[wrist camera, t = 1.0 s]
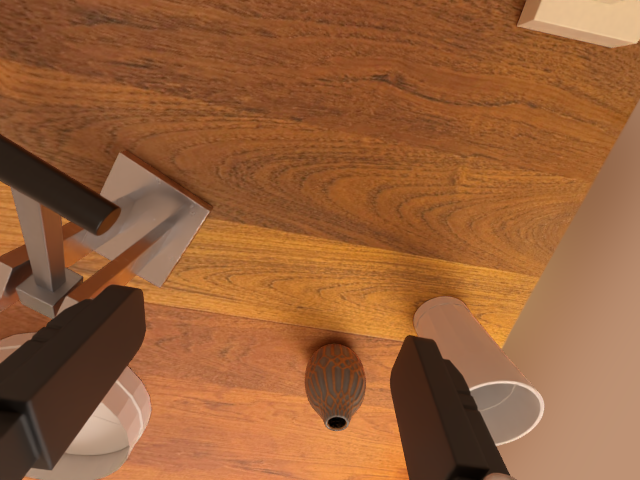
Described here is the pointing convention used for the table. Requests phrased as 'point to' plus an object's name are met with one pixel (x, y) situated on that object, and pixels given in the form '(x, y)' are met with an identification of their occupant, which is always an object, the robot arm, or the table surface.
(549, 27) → the block
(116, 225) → the lever bracket
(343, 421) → the vase
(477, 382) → the cup
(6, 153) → the metal lever
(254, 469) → the table surface
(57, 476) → the dish
